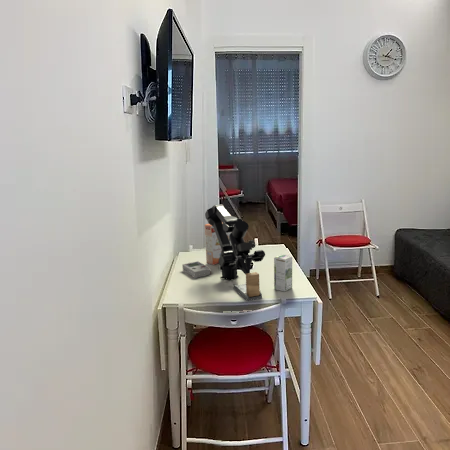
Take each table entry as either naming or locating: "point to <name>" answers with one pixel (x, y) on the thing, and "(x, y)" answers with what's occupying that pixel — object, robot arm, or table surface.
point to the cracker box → (212, 245)
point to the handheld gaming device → (196, 269)
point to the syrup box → (283, 272)
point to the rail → (242, 291)
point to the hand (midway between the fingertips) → (248, 276)
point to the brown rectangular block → (252, 284)
